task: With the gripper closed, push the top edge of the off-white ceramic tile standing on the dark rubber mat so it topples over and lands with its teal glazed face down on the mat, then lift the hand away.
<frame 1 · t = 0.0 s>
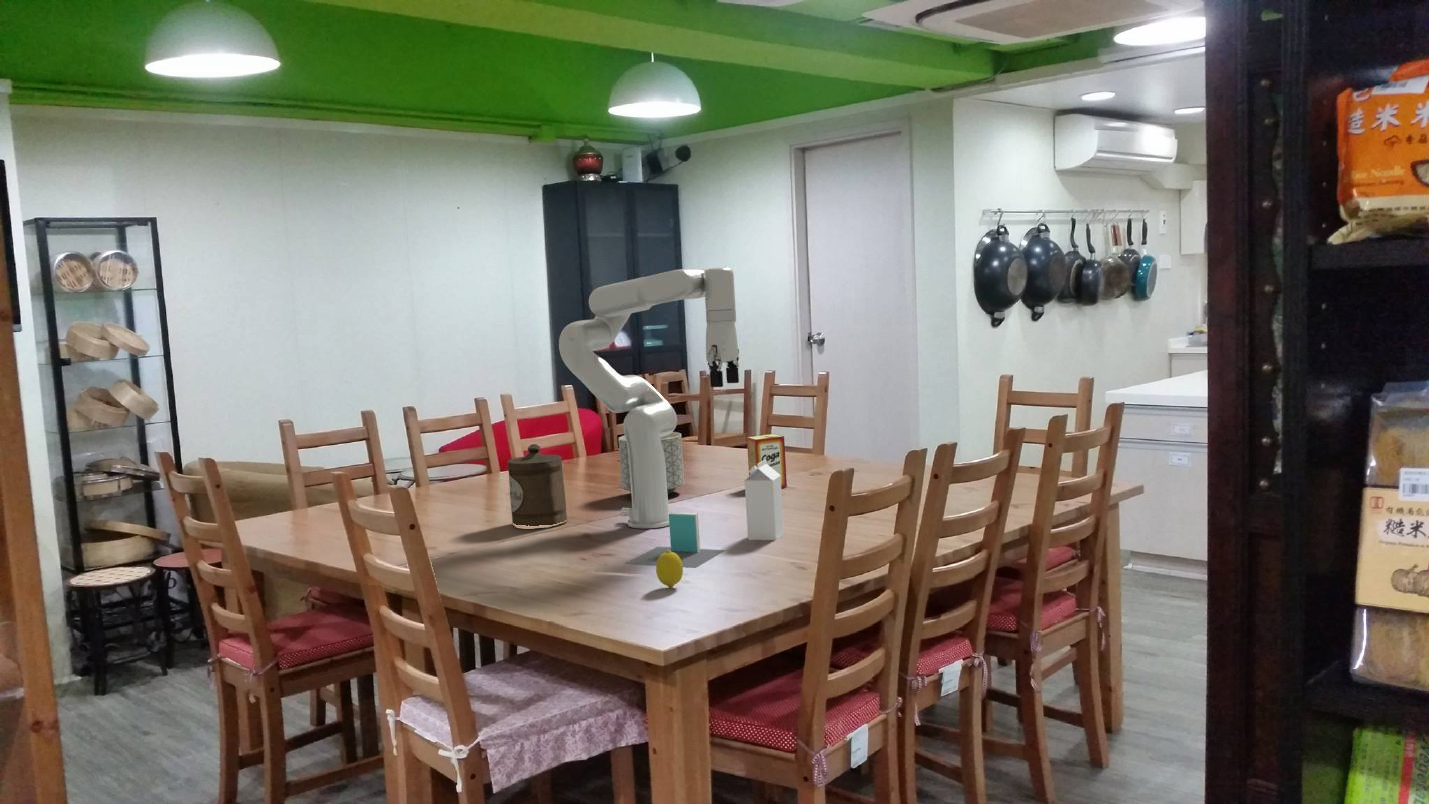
hand: (725, 384, 277), 37 cm above the table, tool pointing down, fingers open, 9 cm apart
lemon: (670, 588, 227), on the table
milk carton: (766, 539, 266), on the table
tile: (685, 551, 255), point 1 cm above the table, touching mat
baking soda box: (768, 488, 333), on the table
planter: (653, 495, 332), on the table
mat: (675, 559, 251), on the table
wooden container: (540, 524, 300), on the table
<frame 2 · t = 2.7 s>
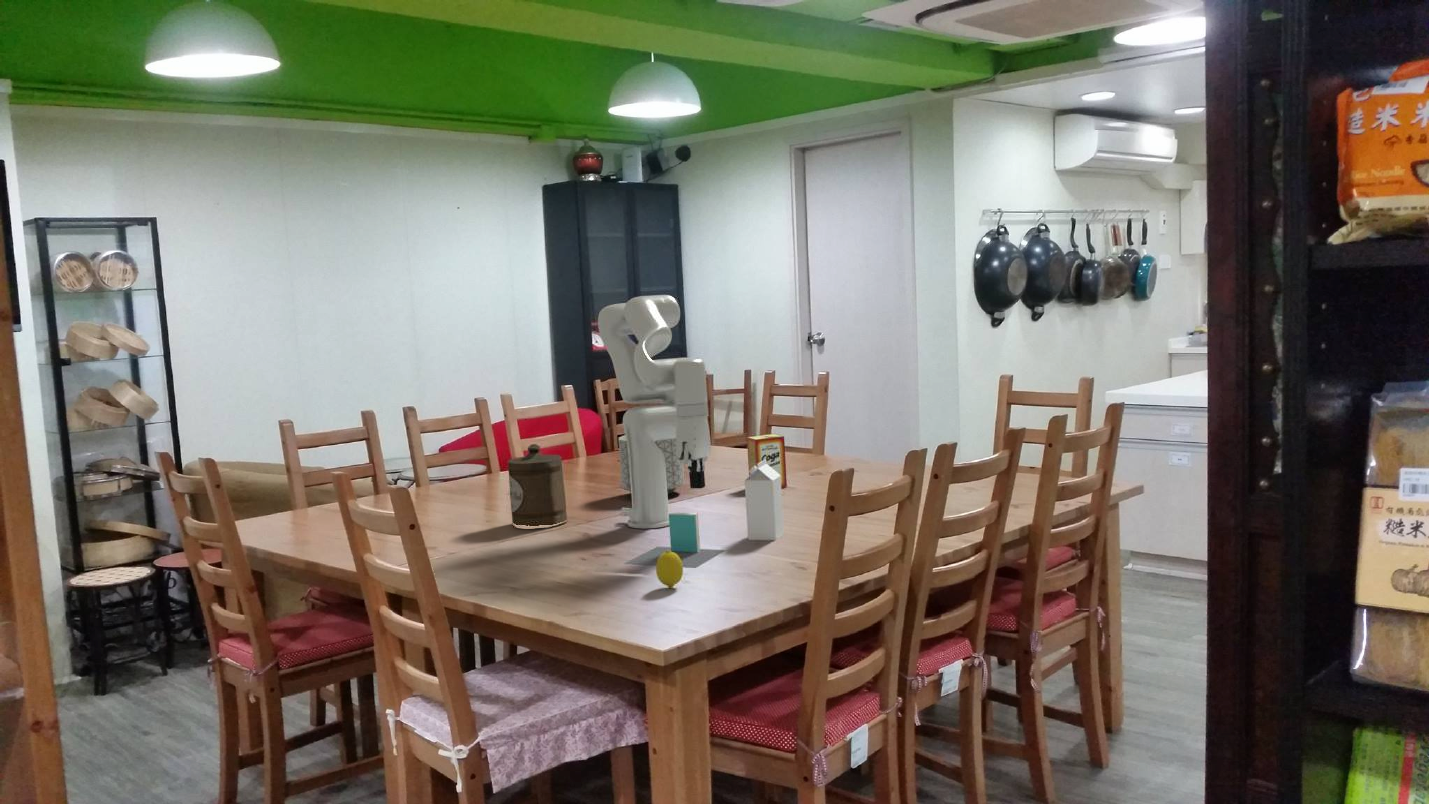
hand: (697, 487, 260), 14 cm above the table, tool pointing down, fingers closed
nothing on the table moved.
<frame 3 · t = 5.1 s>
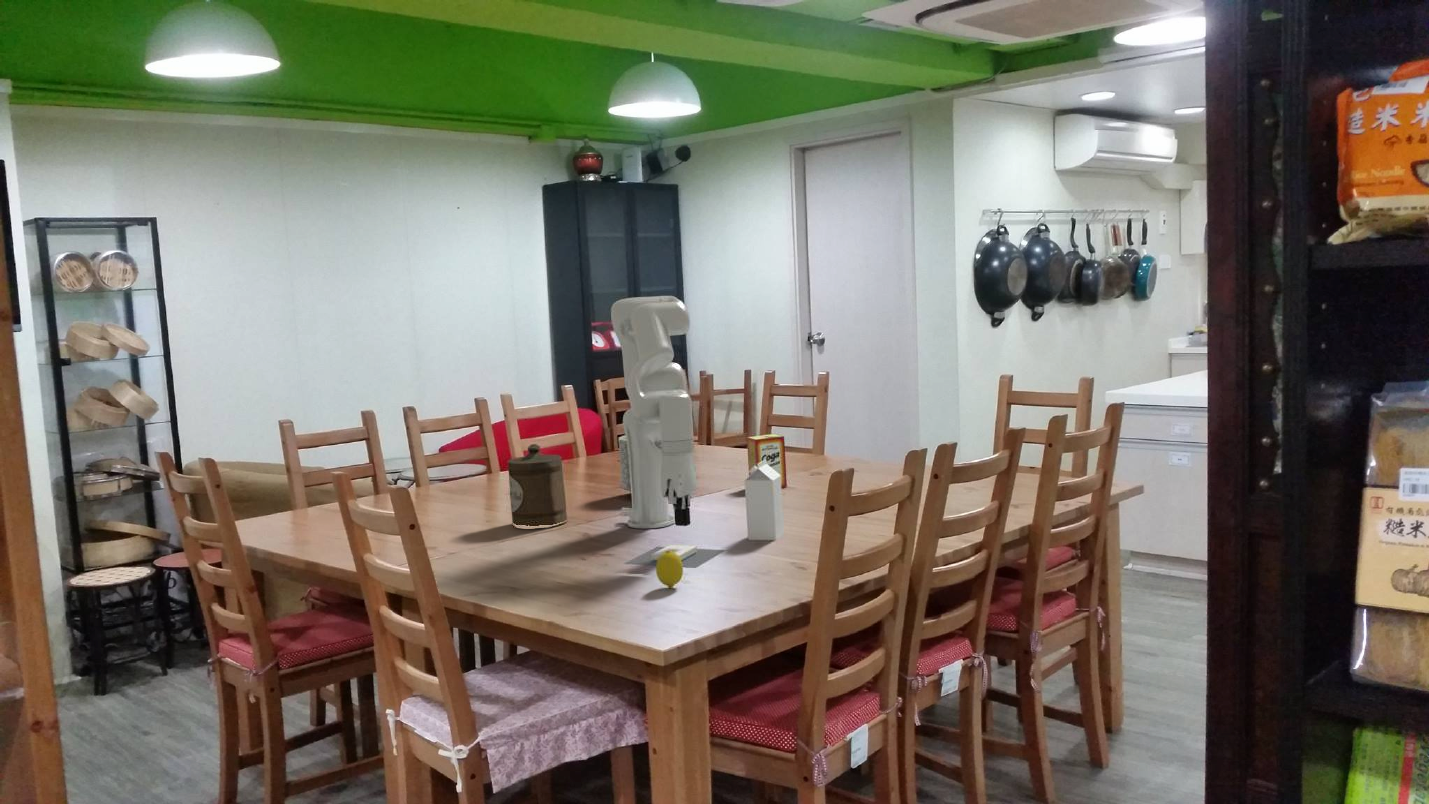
hand: (682, 524, 254), 7 cm above the table, tool pointing down, fingers closed
tile: (683, 548, 254), point 1 cm above the table, tilted 90°, touching mat
everything else where it was.
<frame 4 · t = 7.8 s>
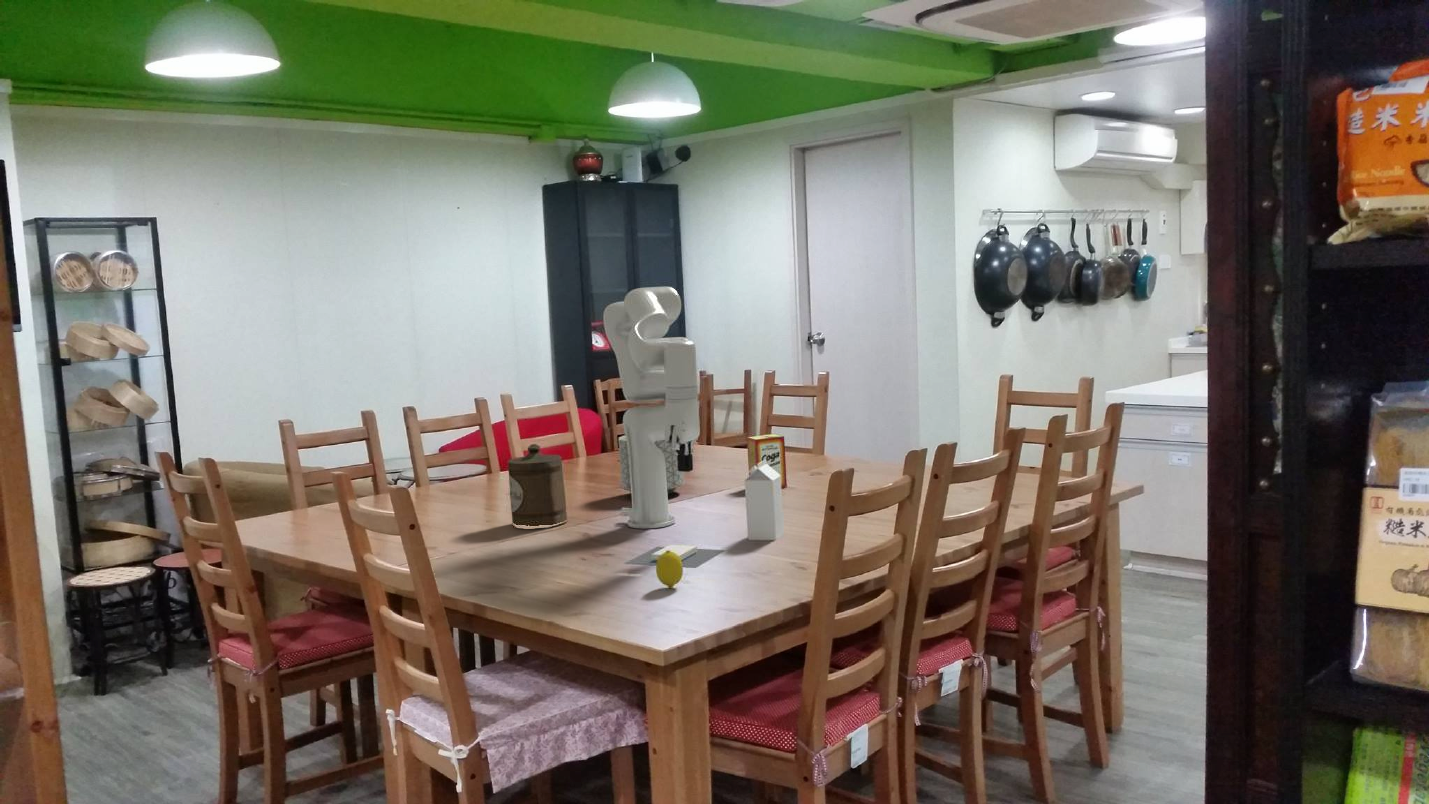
hand: (685, 470, 257), 19 cm above the table, tool pointing down, fingers closed
nothing on the table moved.
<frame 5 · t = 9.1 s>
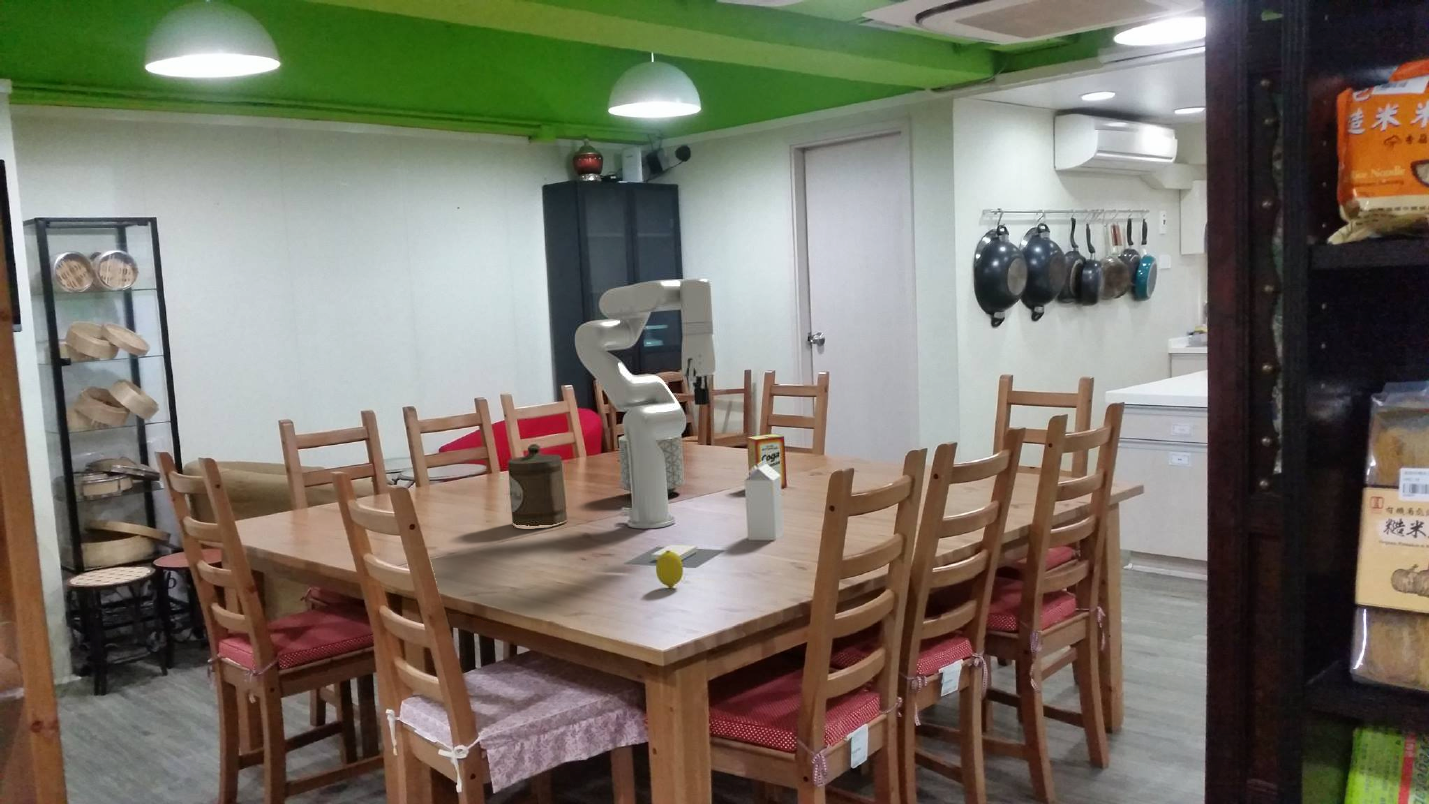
hand: (702, 404, 269), 33 cm above the table, tool pointing down, fingers closed
nothing on the table moved.
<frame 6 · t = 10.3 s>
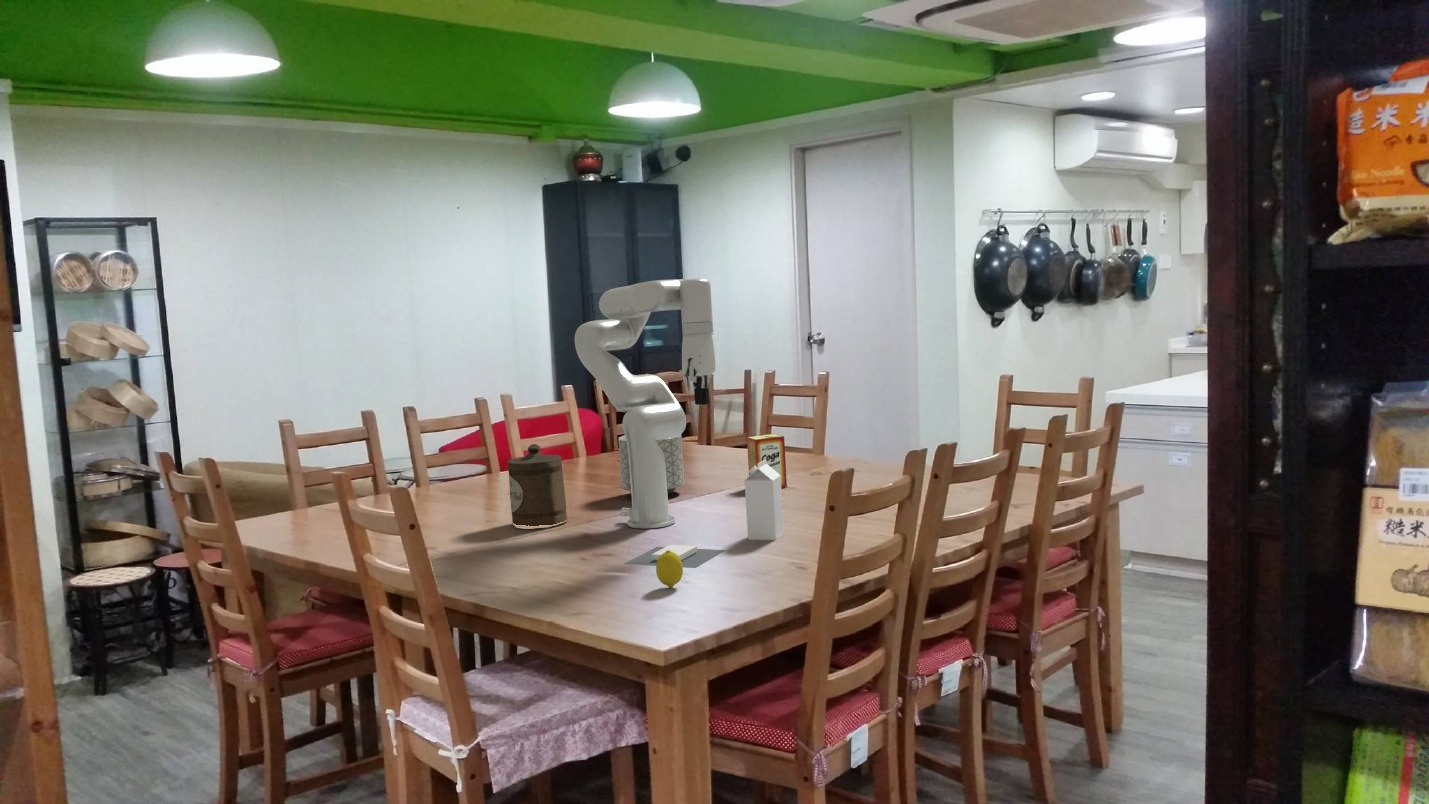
hand: (702, 404, 269), 33 cm above the table, tool pointing down, fingers closed
nothing on the table moved.
at the end: tile tilted 90°; tile inside the target area (4.2 cm from its centre), point 1.4 cm above the table; tile touching mat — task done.
